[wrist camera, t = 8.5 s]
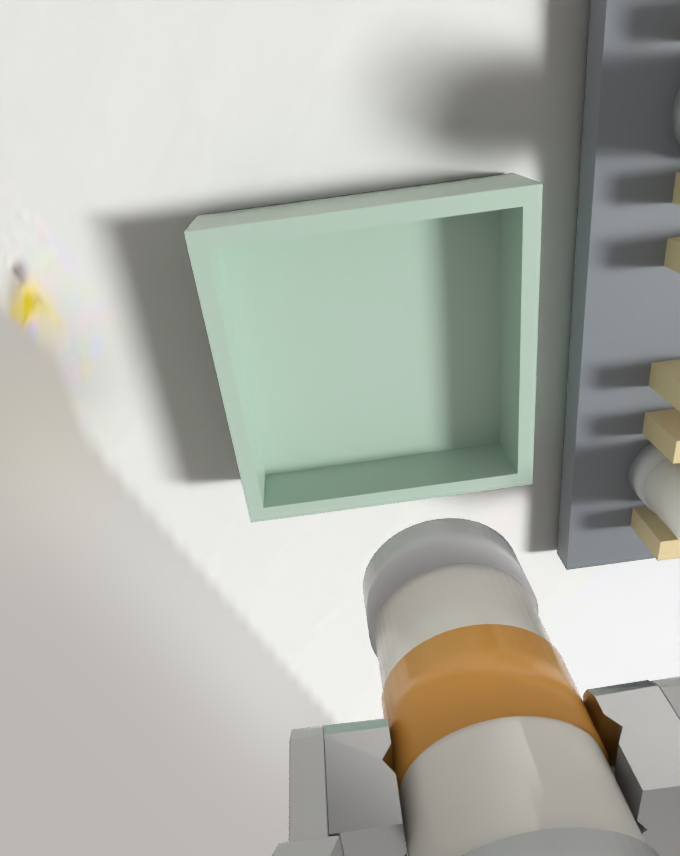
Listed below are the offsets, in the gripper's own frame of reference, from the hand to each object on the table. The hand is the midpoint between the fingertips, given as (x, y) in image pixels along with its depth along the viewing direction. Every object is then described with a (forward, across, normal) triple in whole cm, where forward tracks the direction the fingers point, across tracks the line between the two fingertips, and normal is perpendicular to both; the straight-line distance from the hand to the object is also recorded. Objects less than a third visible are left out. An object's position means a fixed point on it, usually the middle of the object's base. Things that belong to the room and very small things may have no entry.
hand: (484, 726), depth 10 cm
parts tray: (+17, 0, 0) cm, 17 cm away
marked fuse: (+3, 0, 0) cm, 3 cm away
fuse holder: (+17, -12, 0) cm, 21 cm away
